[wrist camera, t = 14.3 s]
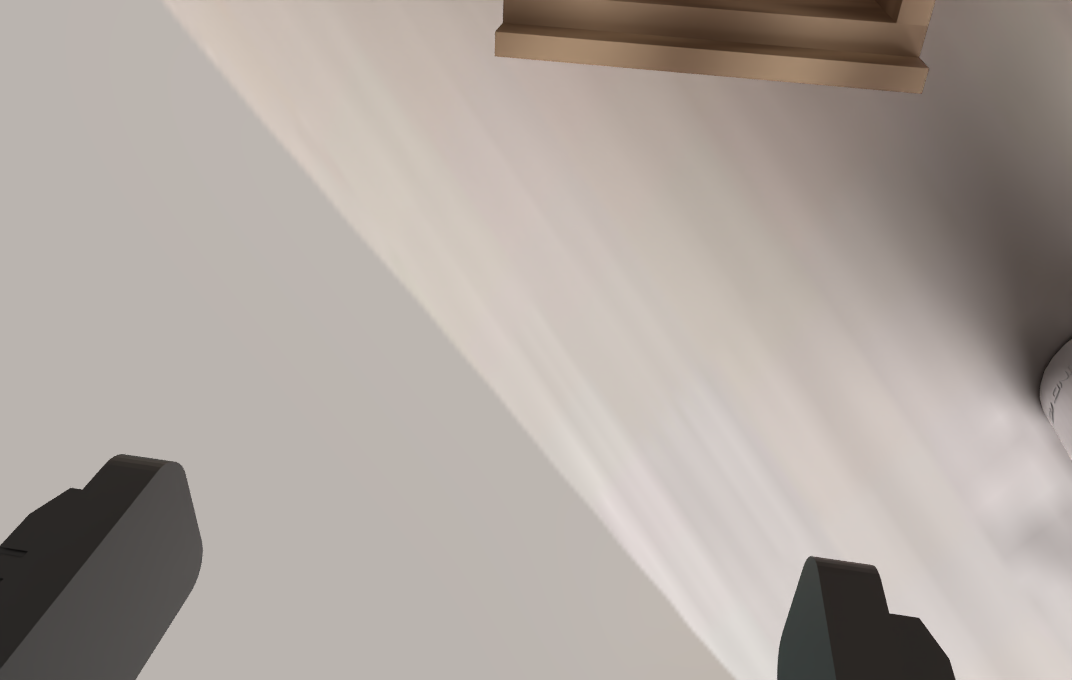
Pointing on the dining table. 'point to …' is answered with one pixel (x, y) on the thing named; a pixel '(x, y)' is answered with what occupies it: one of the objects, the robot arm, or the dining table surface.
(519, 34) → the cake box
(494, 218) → the dining table surface
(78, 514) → the robot arm
